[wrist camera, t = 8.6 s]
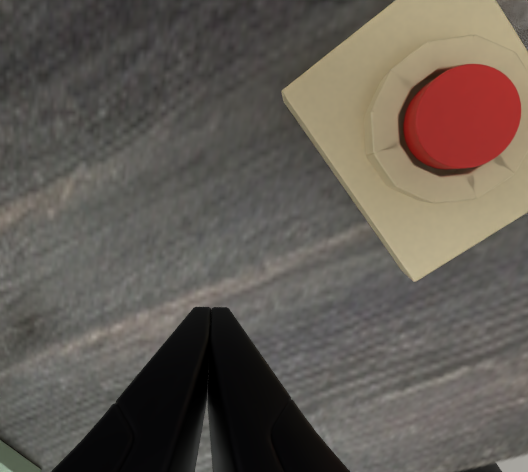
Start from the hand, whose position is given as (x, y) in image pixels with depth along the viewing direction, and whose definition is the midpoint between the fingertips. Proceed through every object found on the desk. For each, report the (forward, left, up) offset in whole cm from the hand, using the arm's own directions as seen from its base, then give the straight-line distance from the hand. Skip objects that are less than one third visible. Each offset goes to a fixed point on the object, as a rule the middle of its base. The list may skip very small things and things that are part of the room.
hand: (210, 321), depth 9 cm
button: (0, -11, -9) cm, 14 cm away
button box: (0, -11, -12) cm, 16 cm away
